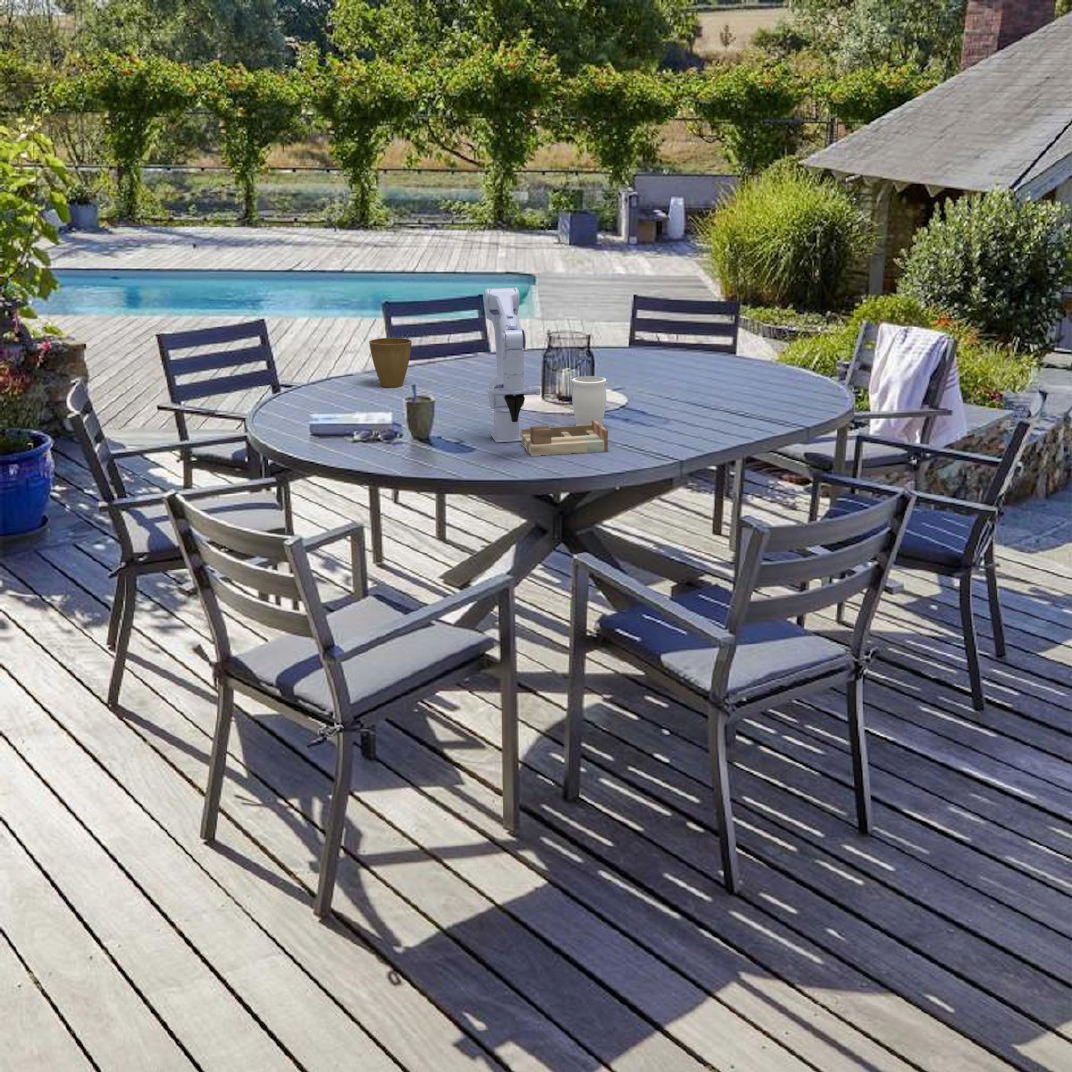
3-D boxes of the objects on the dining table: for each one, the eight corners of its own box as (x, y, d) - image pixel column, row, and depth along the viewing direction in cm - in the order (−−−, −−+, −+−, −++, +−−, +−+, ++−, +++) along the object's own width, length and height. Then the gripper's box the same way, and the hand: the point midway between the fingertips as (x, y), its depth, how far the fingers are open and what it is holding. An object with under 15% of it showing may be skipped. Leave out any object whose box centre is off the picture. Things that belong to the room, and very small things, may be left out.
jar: (609, 430, 379) (609, 381, 374) (575, 432, 378) (575, 383, 373) (602, 422, 389) (602, 374, 384) (569, 424, 388) (569, 376, 383)
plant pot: (399, 391, 436) (397, 345, 431) (363, 388, 442) (360, 342, 437) (421, 383, 449) (419, 338, 444) (385, 380, 455) (383, 336, 450)
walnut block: (530, 440, 357) (530, 426, 356) (547, 439, 358) (547, 425, 357) (534, 444, 352) (533, 430, 351) (551, 443, 353) (551, 429, 352)
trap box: (521, 444, 365) (521, 424, 363) (595, 439, 369) (595, 419, 367) (531, 456, 352) (531, 435, 350) (607, 451, 356) (607, 430, 354)
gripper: (490, 377, 342) (491, 426, 347) (542, 374, 345) (542, 422, 349) (486, 372, 349) (487, 420, 353) (537, 369, 352) (537, 417, 356)
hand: (514, 421), depth 352 cm, fingers closed
